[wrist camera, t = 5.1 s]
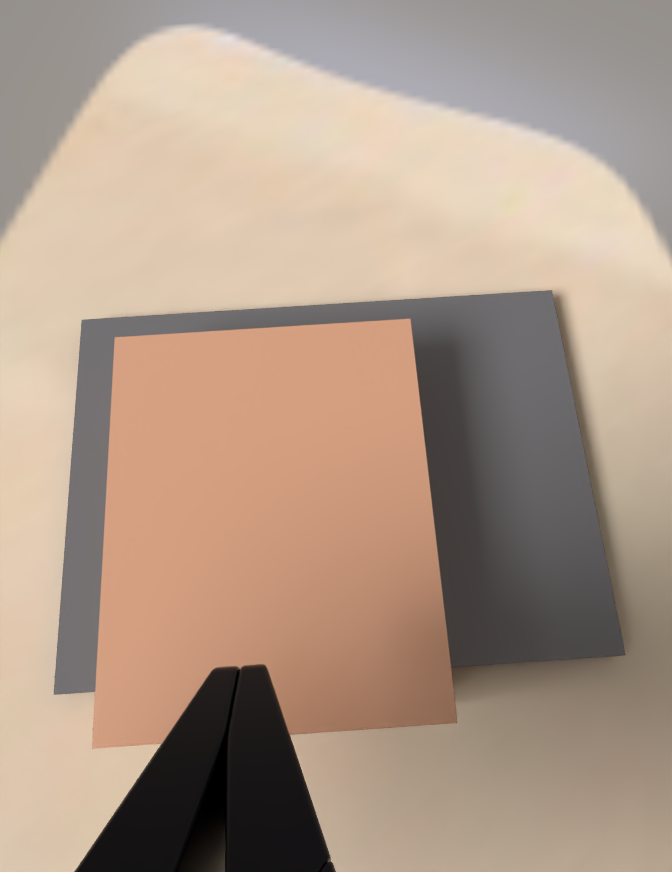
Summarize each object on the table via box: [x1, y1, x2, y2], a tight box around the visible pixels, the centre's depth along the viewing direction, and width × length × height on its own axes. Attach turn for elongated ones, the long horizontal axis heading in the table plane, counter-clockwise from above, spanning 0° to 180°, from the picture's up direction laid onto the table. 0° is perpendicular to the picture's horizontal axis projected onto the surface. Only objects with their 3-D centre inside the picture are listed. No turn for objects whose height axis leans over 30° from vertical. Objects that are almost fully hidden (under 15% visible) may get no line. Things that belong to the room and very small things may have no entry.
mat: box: [54, 290, 625, 695], centre depth 18 cm, size 11×15×1 cm
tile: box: [92, 319, 457, 748], centre depth 16 cm, size 2×8×10 cm
